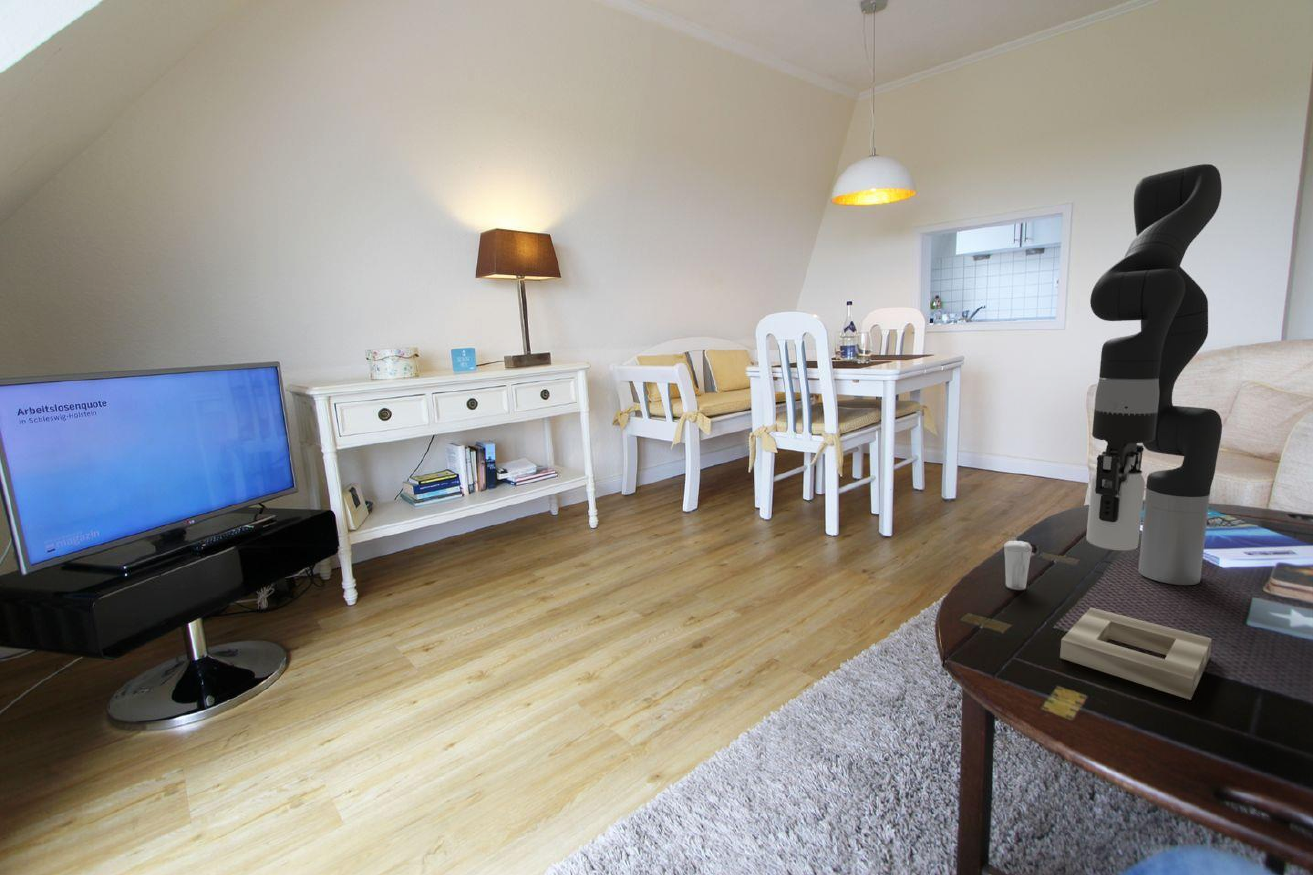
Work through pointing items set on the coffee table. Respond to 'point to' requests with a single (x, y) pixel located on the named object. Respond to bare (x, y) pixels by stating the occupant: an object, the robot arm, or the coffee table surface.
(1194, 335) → the robot arm
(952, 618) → the coffee table surface
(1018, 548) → the milkshake
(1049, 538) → the coffee table surface
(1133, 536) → the can
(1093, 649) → the socket block
